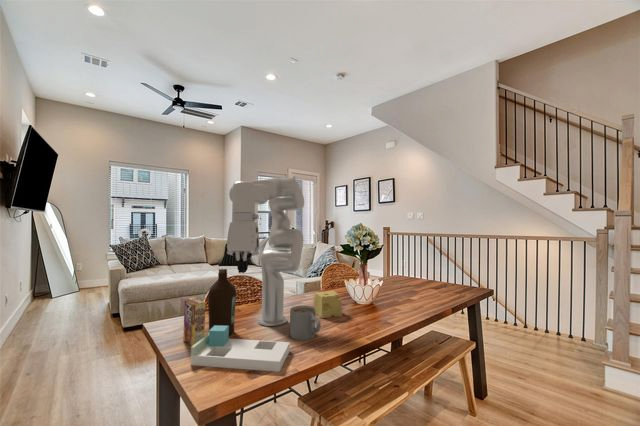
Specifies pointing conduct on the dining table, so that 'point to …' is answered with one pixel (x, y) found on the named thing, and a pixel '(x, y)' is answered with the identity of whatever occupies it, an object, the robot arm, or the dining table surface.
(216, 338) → the block
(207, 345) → the white board with holes
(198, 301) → the candy box
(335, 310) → the cheese
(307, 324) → the coffee mug
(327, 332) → the dining table surface
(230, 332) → the olive oil
